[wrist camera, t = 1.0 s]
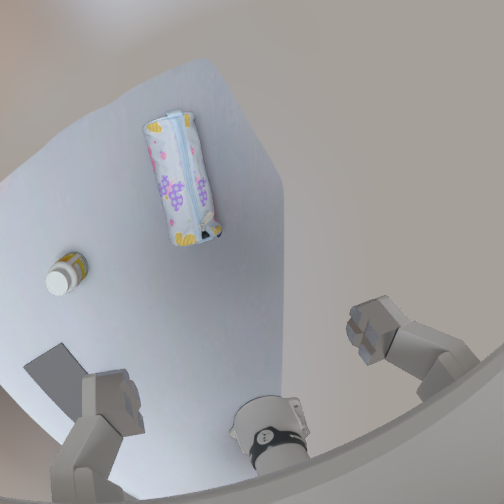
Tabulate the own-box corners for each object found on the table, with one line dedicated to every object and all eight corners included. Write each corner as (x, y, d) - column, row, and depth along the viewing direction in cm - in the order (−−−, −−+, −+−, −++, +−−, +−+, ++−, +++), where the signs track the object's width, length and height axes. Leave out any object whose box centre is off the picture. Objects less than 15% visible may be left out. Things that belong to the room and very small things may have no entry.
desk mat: (132, 419, 61) (131, 420, 60) (91, 436, 60) (90, 437, 59) (62, 342, 53) (61, 343, 53) (23, 366, 52) (23, 367, 52)
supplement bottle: (93, 261, 51) (77, 278, 42) (81, 285, 52) (65, 306, 43) (68, 246, 50) (48, 260, 40) (57, 270, 50) (37, 289, 41)
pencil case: (220, 230, 55) (228, 241, 46) (172, 243, 54) (171, 257, 45) (193, 114, 49) (196, 102, 40) (143, 127, 48) (136, 117, 39)
